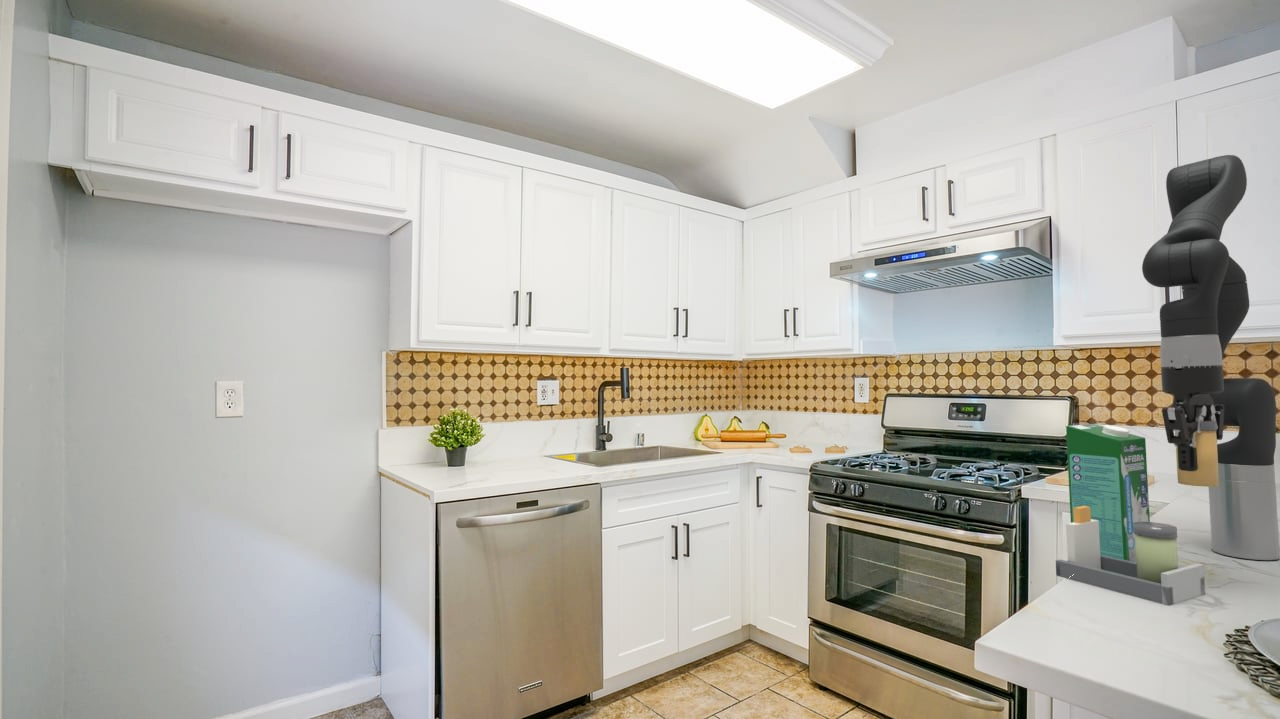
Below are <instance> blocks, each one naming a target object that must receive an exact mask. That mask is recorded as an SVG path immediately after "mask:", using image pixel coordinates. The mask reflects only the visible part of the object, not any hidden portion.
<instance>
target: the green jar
mask: <svg viewBox="0 0 1280 719" xmlns="http://www.w3.org/2000/svg"><path fill="white" fill-rule="evenodd" d="M1133 526H1134V533H1135V549H1136V568H1137V578H1139V579H1143V580H1147V581H1152V582H1156V583H1160V584H1161V573H1164V572H1167V571H1171V570H1175V569H1179V561H1178V560H1179V559H1178V556H1179V555H1178V542H1177V539H1178V527H1177V526H1176V525H1175V526H1174V525H1173V524H1168V523H1162V522H1153V521H1150V522H1135V523H1133Z"/></svg>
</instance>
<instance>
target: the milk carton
mask: <svg viewBox="0 0 1280 719" xmlns="http://www.w3.org/2000/svg"><path fill="white" fill-rule="evenodd" d="M1065 429H1066V430H1065V432H1066V433H1065V435H1066V449H1067V450H1066V452H1067V453H1066V456H1067V472H1068V492H1069V494H1068V495H1069V509H1070V511H1069V513H1070V514H1069V515H1070V523H1073V522H1074V513H1073V508H1075V507H1081V506H1088V507H1090V513H1091V519H1093V520H1099V538H1100V554H1101V555H1105V556H1110V557H1114V558H1119V559H1123V560H1128V561H1132V562H1136V549H1135V533H1134V526H1133V523H1135V522H1151V521H1150V520H1151V518H1150V516H1151V515H1150V501H1149V498H1150V497H1149V484H1148V464H1147V462H1148V461H1147V447H1146V437H1144V436H1139V435H1136V434H1132V433H1130V430H1129V429H1127V428H1123V427H1120V426H1117V425H1110V424H1108V425H1107V424H1106V425H1105V424H1104V425H1103V426H1102V425H1099V424H1095V423H1085V424H1075V425H1065Z"/></svg>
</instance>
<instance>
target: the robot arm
mask: <svg viewBox="0 0 1280 719" xmlns="http://www.w3.org/2000/svg"><path fill="white" fill-rule="evenodd" d="M1242 161H1243V160H1242V159H1240V157H1239V156H1237V155H1234V154H1226V155H1225V154H1224V155H1220V156H1219V155H1218V156H1215V157H1212V158H1208V159H1204V160H1199V161H1195V162H1190V163H1187V164H1184V165H1179V166H1176V167H1173V168H1171V169H1170V170H1169V171H1168V173H1167V175H1166V179H1165V185H1166V186H1165V188H1166V194H1167V200H1168V206H1169V211H1170V215H1171V220H1172V221H1171V222H1170V225H1169V228H1168V231H1167V233H1166V234H1165V235H1163V236H1162V237H1161V238H1159V239H1158V240H1157V241H1156V242H1155V243H1154V244H1153V245H1152V246H1151V247H1150V248H1149V249H1148V251H1147V252H1146V254H1145V255H1144V258H1143V261H1142V266H1141V267H1142V268H1141V271H1142V276H1143V277H1144V279H1145V281H1147V282H1148V284H1150V285H1152V286H1154V287H1157V288H1171V287H1172V288H1173V287H1181V292H1182V298H1180V299H1175V300H1171V301H1169V302H1166V303H1164V304H1162V305H1161V306H1160V308H1159V324H1160V328H1159V329H1160V348H1159V356H1160V374H1161V376H1160V377H1161V390H1162V392H1163V393H1164V394H1168V395H1169V394H1172V395H1173V400H1172V401H1173V402H1172V406H1170V407H1169V406H1165V407H1162V409H1161V414H1162V419H1163V425H1164V429H1165V434H1166V439H1167V443H1168V444H1172V445H1174V447H1176V446H1177V449H1178V465H1179V469H1180V470H1183V471H1196V470H1197V469H1198V465H1197V449H1196V448H1195V447H1196V442H1197V435H1198V434H1200V433H1201V432H1202V429H1201V422H1203V421H1217V430H1216V435H1217V441H1222V439H1223V438H1224V436H1223V435H1224V434H1223V433H1224V427H1237V428H1238V429H1239V430H1238V434H1237V435H1236V436H1235V437H1234V438H1233V439H1230V440H1227V441H1224V442H1222V443H1217V453H1218V470H1219V486H1213V487H1208V498H1209V499H1208V502H1209V516H1210V517H1209V518H1210V519H1209V520H1210V521H1209V522H1210V534H1211V535H1210V537H1211V538H1210V539H1211V550H1212V551H1213V552H1215V553H1218V554H1220V555H1224V556H1229V557H1233V558H1240V559H1244V560H1245V559H1247V560H1259V561H1276V560H1280V535H1279V533H1280V531H1279V520H1278V519H1279V518H1278V502H1277V485H1276V472H1275V470H1276V469H1275V452H1276V448H1277V446H1276V444H1277V437H1276V436H1277V434H1276V429H1277V428H1276V425H1277V424H1276V423H1277V422H1276V421H1277V401H1276V395H1275V392H1274V389H1273V387H1272V385H1271V384H1270V382H1268V381H1267V380H1265V379H1262V378H1259V377H1258V378H1256V377H1254V378H1253V377H1250V378H1249V377H1232V378H1231V377H1228V378H1227V377H1225V378H1224V367H1223V365H1224V364H1223V357H1224V354H1225V351H1226V349H1227V346H1228V345H1229V344H1230V341H1231V340H1232V338H1233V337H1234V335H1235V334H1236V333H1237V331H1238V330H1239V328H1240V327H1241V325H1242V323H1243V322H1244V321H1245V318H1246V316H1248V315H1247V314H1248V313H1249V309H1250V297H1249V296H1250V295H1249V290H1248V280H1247V276H1246V273H1245V271H1244V269H1243V267H1241V265H1240V264H1238V263H1237V261H1235V259H1233V258H1232V257H1231V256H1230V253H1229V252H1230V251H1229V250H1228V247H1227V246H1226V244H1224V243H1223V242H1222V241H1220V240H1221V236H1222V232H1223V228H1224V225H1225V223H1226V222H1227V221H1228V219H1229V217H1230V216H1231V214H1233V212H1234V211H1235V210H1236V208H1237V207H1238V206H1239V204H1240V203H1241V201H1242V200H1243V198H1244V196H1245V194H1246V192H1247V185H1248V184H1247V182H1248V180H1247V170H1246V167H1245V165H1244V163H1243V162H1242ZM1186 422H1187V423H1193V422H1195V425H1194V426H1193V427H1187V423H1186ZM1189 433H1190V436H1189Z"/></svg>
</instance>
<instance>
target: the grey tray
mask: <svg viewBox="0 0 1280 719" xmlns="http://www.w3.org/2000/svg"><path fill="white" fill-rule="evenodd" d="M1100 558H1101V569H1098V568H1094V567H1089V566H1085V565H1081V564H1077V563H1073V562H1069V561H1068V560H1064V559H1056V560H1055V575H1056V577H1060V578H1064V579H1067V580H1072V581H1076V582H1079V583H1082V584H1086V585H1089V586H1093V587H1098V588H1102V589H1106V590H1107V591H1108V590H1109V591H1113V592H1115V593H1116V592H1117V593H1121V594H1124V595H1128V596H1132V597H1135V598H1138V599H1143V600H1147V601H1151V602H1153V603H1158V604H1160V605H1161V604H1162V605H1165V606H1173V605H1175V604H1178V603H1179V604H1180V603H1181V602H1185V601H1189V600H1192V599H1195V598H1198V597H1201V596H1204V595H1206V586H1205V584H1206V583H1205V568H1204V567H1205V566H1204V564H1201V563H1194V564H1190V565H1186V566H1182V567H1178V569H1175V570H1171V571H1167V572H1164V573H1161V584H1160V583H1156V582H1152V581H1147V580H1143V579H1139V578H1137V568H1136V562H1132V561H1128V560H1123V559H1119V558H1114V557H1110V556H1105V555H1101V554H1100ZM1073 574H1074V575H1073ZM1072 575H1073V576H1072ZM1070 576H1071V577H1070ZM1069 577H1070V578H1069ZM1068 578H1069V579H1068Z"/></svg>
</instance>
